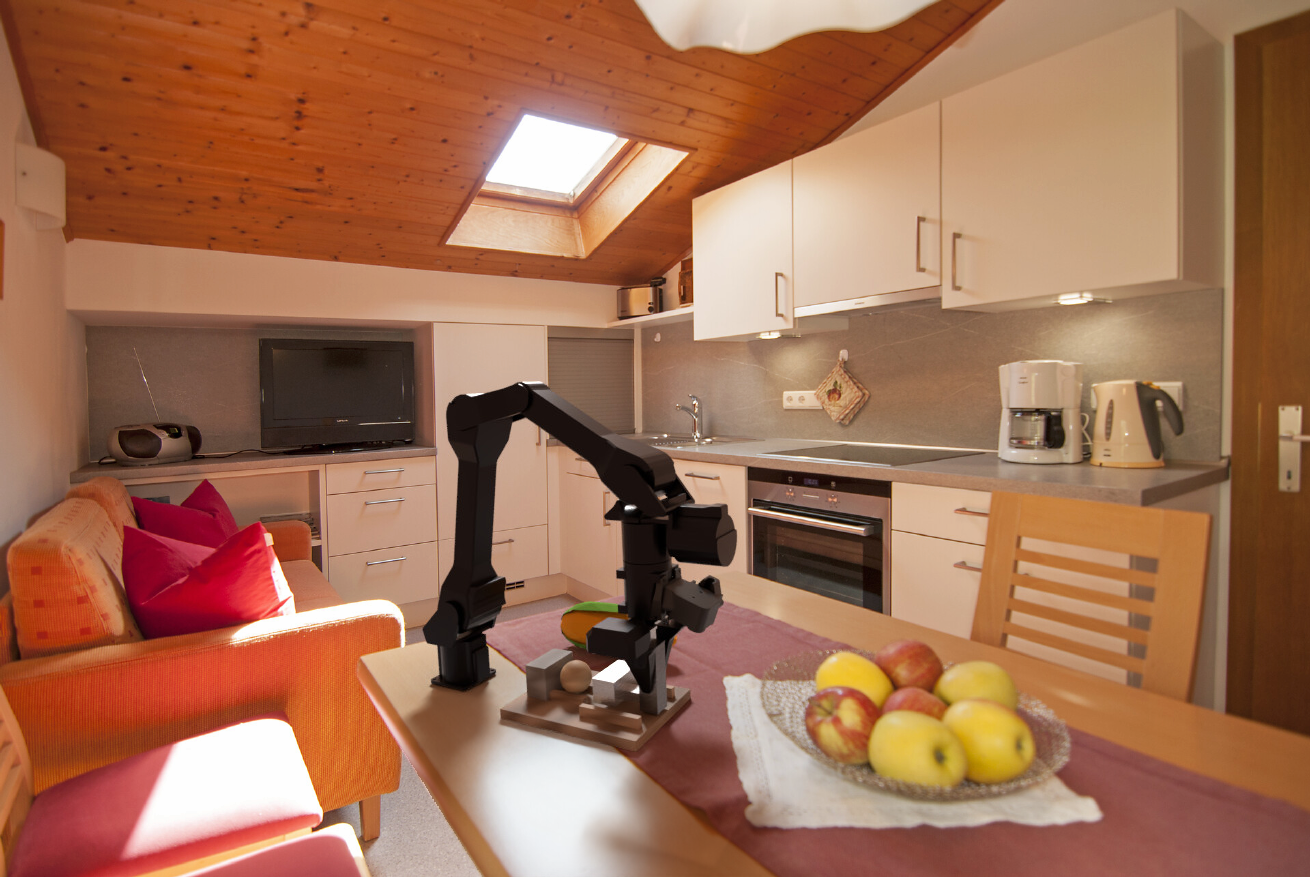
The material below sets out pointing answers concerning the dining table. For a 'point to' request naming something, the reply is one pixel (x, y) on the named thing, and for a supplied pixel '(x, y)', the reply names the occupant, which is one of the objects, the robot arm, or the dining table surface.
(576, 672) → the tan wooden ball
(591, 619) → the corn
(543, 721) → the base
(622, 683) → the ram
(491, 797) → the dining table surface
